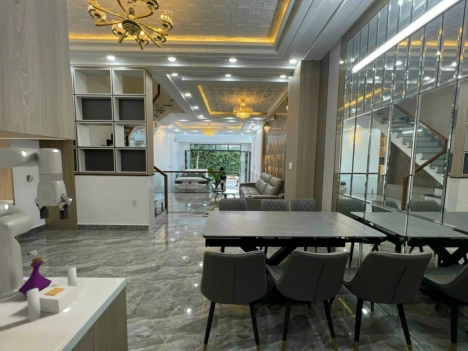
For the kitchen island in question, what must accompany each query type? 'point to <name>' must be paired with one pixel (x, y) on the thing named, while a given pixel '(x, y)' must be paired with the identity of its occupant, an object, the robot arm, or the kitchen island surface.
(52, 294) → the button
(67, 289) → the breaker box
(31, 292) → the post
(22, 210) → the robot arm
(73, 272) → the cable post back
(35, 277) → the perfume bottle
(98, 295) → the kitchen island surface
